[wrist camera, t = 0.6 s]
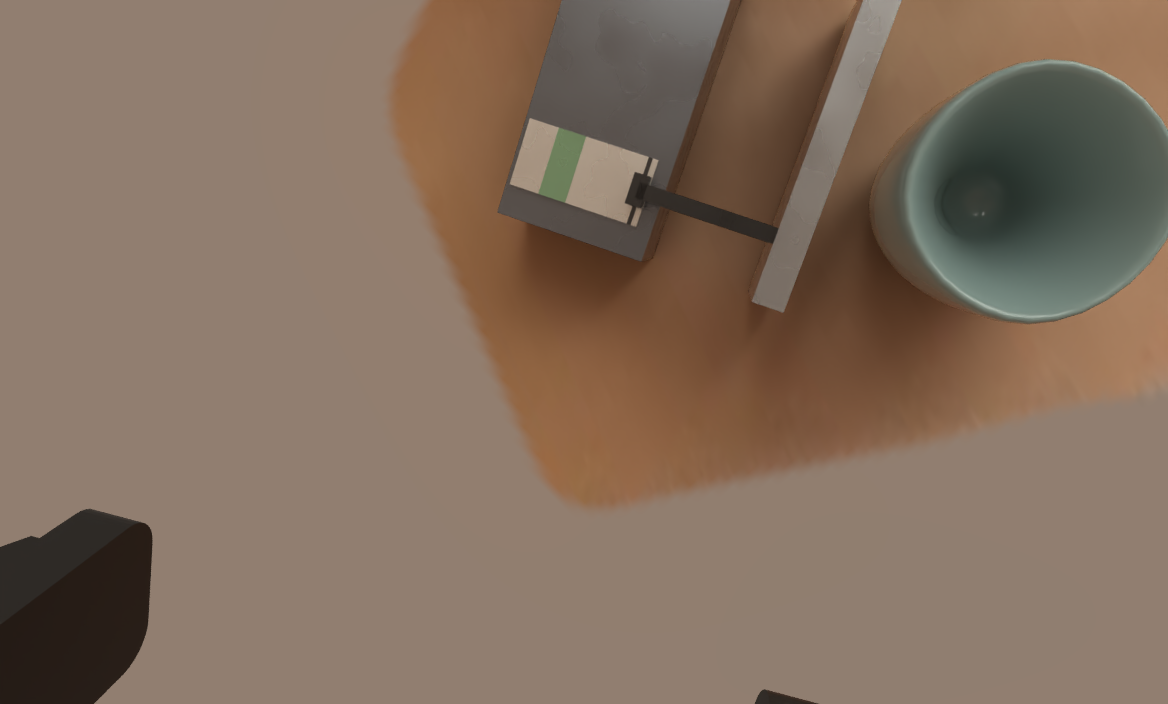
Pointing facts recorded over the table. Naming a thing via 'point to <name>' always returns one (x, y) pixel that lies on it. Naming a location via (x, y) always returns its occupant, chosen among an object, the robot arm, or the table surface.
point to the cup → (1026, 193)
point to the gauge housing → (615, 116)
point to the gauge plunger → (800, 160)
